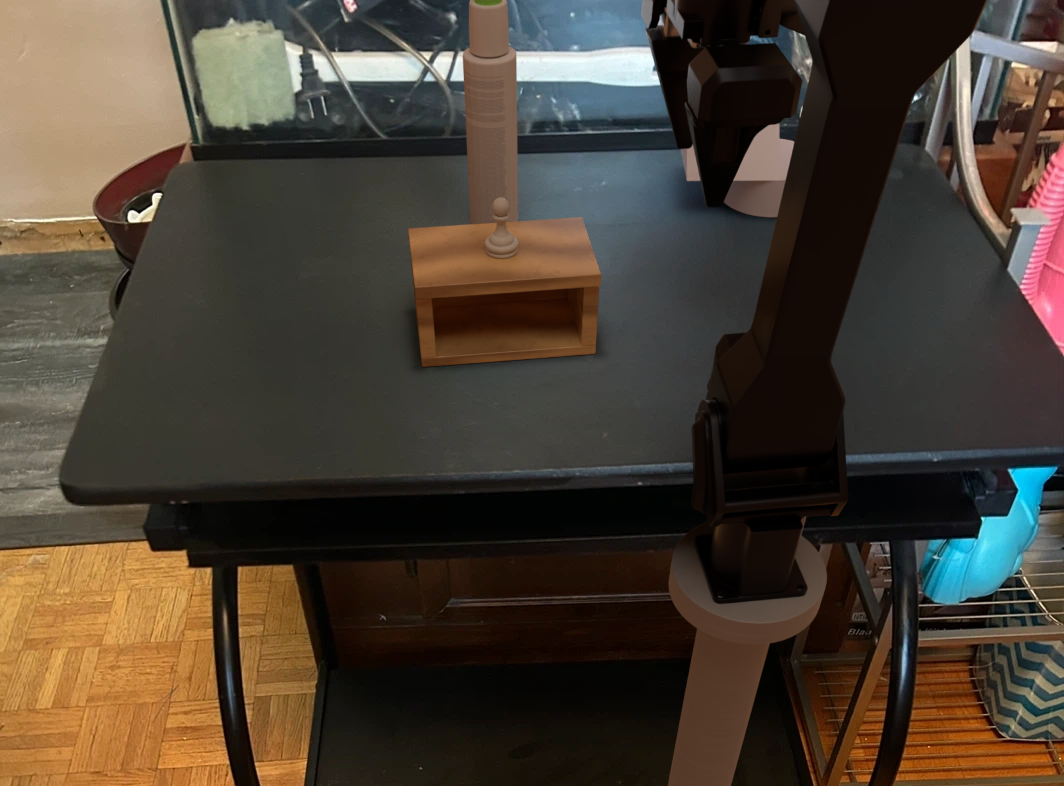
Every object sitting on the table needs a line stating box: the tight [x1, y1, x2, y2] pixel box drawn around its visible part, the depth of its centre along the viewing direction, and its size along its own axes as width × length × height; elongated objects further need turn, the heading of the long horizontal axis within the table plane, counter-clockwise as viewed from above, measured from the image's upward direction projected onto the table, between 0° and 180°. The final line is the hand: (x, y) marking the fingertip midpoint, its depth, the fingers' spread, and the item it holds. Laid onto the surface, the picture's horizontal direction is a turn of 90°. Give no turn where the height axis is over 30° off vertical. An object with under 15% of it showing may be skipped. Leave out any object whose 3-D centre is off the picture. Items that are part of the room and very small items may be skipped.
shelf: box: [407, 216, 602, 368], centre depth 82 cm, size 9×14×7 cm, turn 97°
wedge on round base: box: [679, 123, 795, 218], centre depth 96 cm, size 9×7×13 cm
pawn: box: [485, 197, 519, 259], centre depth 77 cm, size 3×3×4 cm
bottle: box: [462, 0, 519, 224], centre depth 86 cm, size 4×4×20 cm
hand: (698, 176), depth 73 cm, fingers open, 9 cm apart
